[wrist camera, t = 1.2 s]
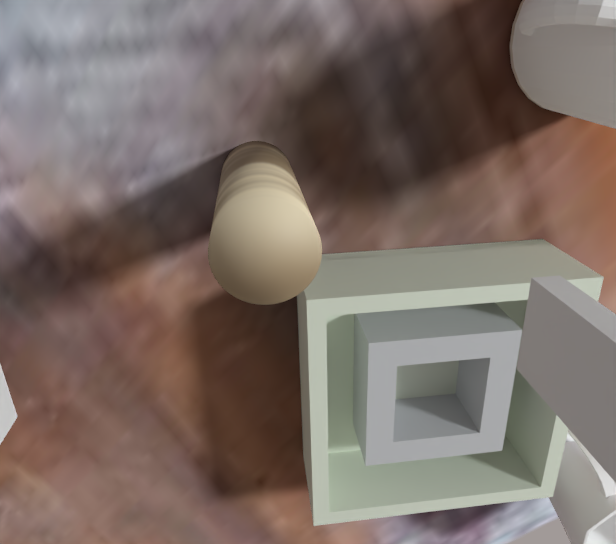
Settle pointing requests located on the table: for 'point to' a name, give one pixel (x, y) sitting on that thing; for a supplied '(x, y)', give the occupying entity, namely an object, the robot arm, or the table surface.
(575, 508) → the cup
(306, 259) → the peg
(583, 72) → the mug
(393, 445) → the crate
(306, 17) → the table surface
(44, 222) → the table surface
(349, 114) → the table surface
